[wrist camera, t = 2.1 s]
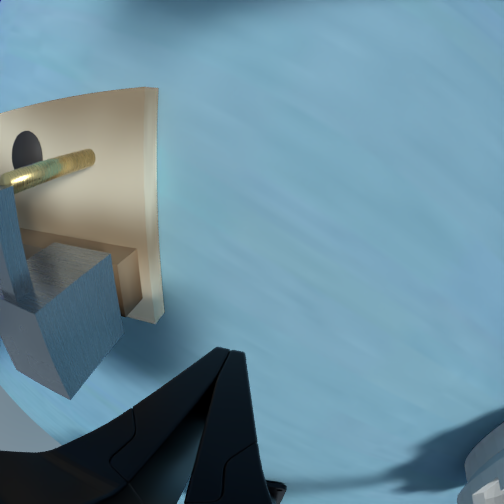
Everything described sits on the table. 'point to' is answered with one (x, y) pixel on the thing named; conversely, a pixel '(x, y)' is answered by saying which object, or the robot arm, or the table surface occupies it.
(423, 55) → the table surface
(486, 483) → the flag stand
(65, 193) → the hole plate
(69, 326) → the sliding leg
